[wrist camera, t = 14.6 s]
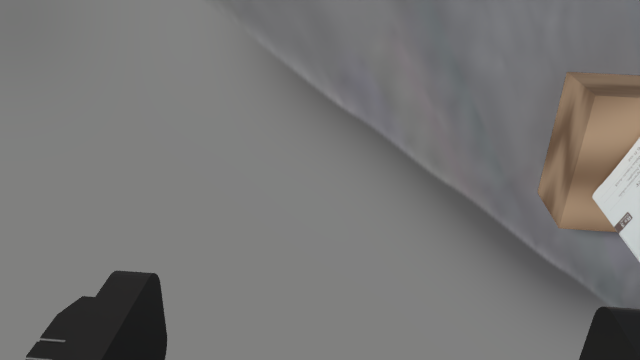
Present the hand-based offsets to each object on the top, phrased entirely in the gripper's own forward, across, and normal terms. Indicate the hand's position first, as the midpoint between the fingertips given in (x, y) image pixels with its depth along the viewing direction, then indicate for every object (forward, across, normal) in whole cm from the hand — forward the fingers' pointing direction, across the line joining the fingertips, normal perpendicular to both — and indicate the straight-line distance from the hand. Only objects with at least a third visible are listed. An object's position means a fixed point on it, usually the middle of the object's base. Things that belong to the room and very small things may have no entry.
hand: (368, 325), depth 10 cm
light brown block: (+36, -22, +10) cm, 43 cm away
